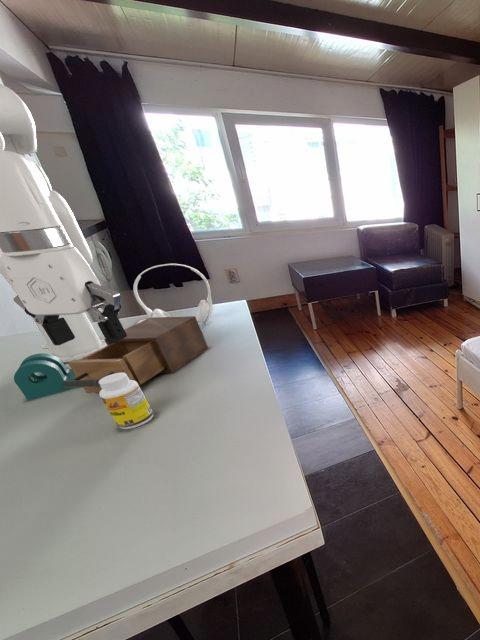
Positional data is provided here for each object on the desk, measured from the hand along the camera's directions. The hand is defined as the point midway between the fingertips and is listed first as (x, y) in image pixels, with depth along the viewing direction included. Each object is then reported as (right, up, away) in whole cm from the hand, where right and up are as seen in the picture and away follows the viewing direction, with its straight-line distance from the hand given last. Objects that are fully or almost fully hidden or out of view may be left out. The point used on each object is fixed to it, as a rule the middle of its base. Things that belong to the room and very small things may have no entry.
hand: (91, 341), depth 64 cm
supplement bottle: (+1, -16, +8) cm, 18 cm away
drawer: (-13, -9, +20) cm, 26 cm away
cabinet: (-13, -4, +32) cm, 35 cm away
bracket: (-27, -9, +24) cm, 37 cm away
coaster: (-40, +8, +58) cm, 71 cm away
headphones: (-23, +6, +53) cm, 58 cm away
